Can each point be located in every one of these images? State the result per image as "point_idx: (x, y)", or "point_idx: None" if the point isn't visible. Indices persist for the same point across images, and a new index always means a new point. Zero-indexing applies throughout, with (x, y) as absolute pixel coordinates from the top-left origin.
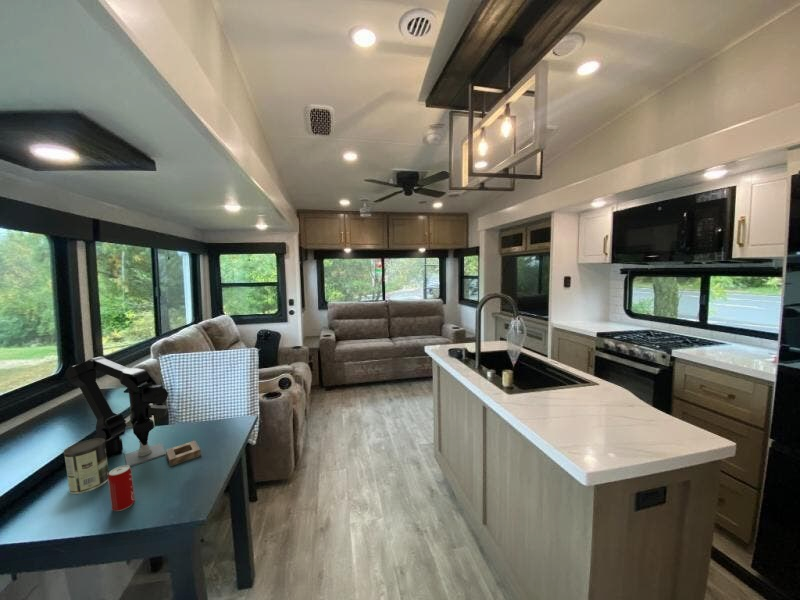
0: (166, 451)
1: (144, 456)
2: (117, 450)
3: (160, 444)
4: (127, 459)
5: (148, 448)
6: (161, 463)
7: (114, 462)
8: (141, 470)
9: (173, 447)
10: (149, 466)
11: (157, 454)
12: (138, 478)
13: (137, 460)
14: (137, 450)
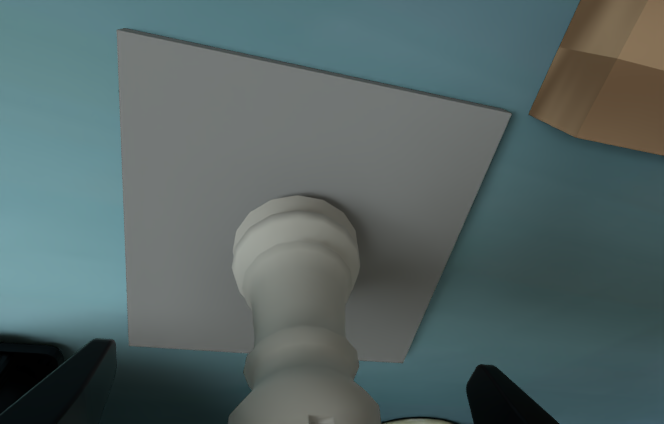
0: (622, 144)
1: None
2: (13, 390)
3: (175, 61)
4: None
5: (341, 255)
6: (612, 189)
7: (207, 387)
8: (543, 303)
9: (628, 44)
10: (549, 258)
11: (439, 174)
12: (622, 331)
13: (378, 306)
14: (132, 268)
